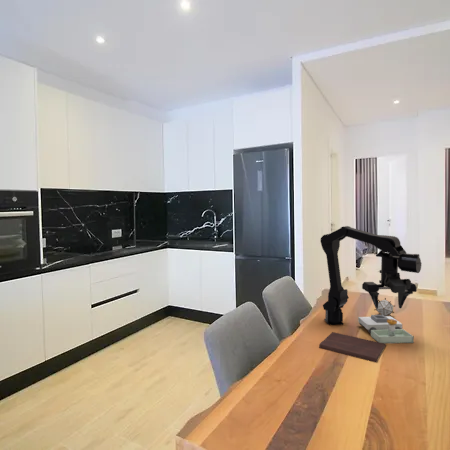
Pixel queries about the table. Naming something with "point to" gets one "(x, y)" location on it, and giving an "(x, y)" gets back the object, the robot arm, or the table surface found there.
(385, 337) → the tray
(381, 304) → the game die
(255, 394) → the table surface
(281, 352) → the table surface
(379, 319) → the white socket plate
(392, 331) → the pin
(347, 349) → the notebook
